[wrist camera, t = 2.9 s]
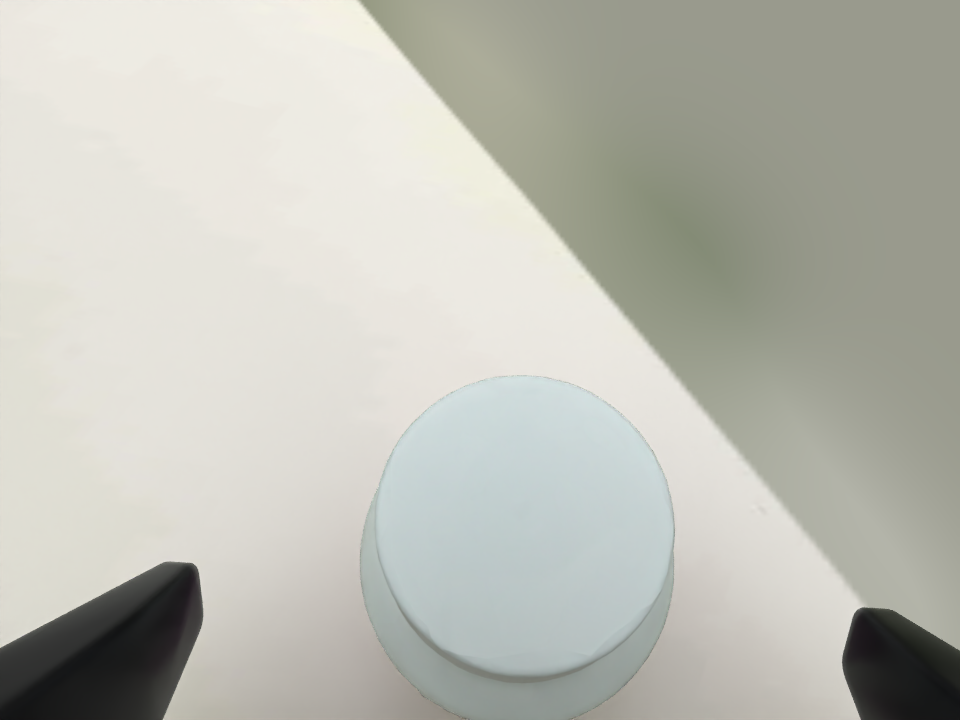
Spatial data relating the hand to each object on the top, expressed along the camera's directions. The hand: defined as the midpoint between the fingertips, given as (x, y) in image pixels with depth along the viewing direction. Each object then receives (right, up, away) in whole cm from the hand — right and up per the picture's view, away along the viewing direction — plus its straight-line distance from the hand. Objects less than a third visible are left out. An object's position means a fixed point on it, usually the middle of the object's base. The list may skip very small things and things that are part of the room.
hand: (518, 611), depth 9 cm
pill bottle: (0, -3, +8) cm, 9 cm away
